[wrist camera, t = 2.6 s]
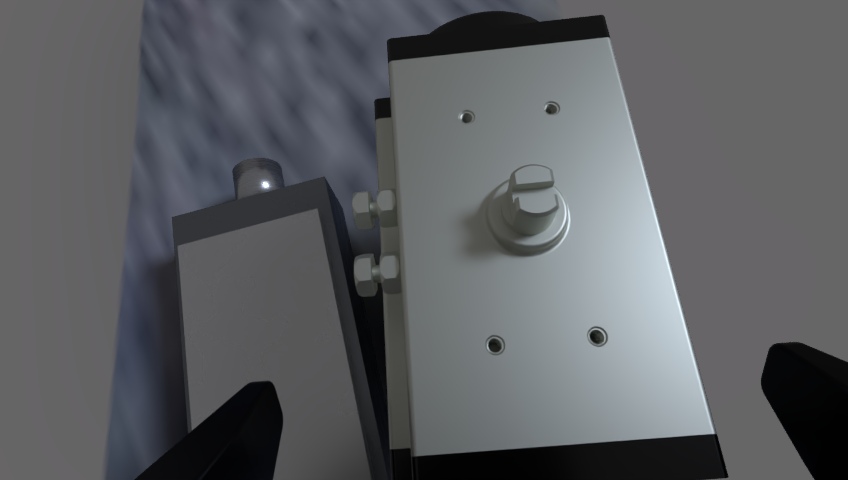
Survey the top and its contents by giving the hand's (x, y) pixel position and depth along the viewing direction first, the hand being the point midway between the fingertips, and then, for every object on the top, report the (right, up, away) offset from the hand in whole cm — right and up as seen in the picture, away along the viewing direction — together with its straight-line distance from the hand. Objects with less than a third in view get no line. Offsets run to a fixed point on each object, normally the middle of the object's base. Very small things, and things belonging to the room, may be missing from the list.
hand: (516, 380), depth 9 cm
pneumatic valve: (0, -1, +10) cm, 10 cm away
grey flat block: (-7, -3, +10) cm, 12 cm away
